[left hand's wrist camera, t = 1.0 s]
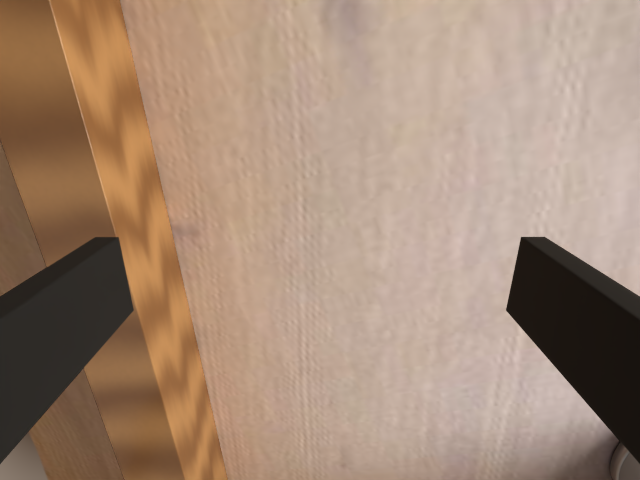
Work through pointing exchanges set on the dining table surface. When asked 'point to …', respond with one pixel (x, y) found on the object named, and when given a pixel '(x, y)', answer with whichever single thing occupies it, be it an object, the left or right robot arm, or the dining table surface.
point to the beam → (107, 222)
